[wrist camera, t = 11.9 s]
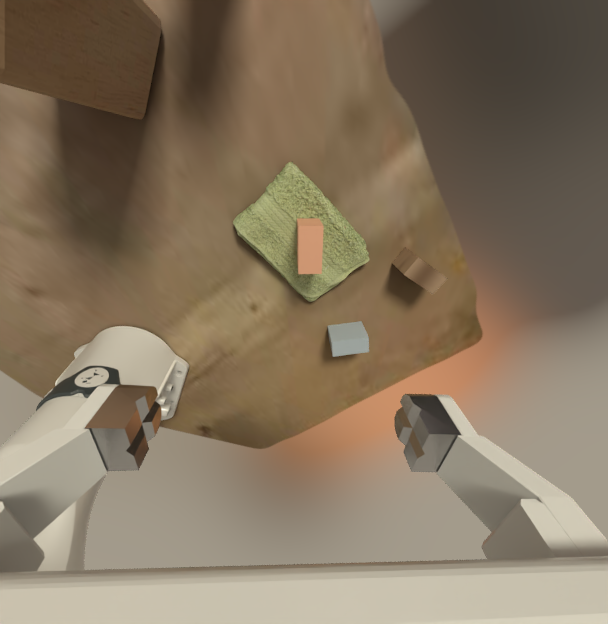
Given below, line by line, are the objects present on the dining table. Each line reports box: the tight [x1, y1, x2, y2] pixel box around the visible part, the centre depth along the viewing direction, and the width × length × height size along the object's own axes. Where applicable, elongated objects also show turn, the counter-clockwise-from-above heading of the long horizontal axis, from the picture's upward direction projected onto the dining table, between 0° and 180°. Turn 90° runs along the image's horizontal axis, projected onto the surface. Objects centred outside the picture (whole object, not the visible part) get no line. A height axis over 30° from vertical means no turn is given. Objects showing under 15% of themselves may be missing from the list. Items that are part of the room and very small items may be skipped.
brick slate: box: [328, 321, 369, 357], centre depth 47 cm, size 6×3×5 cm, turn 97°
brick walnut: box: [392, 248, 448, 294], centre depth 41 cm, size 6×3×5 cm, turn 57°
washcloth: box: [233, 162, 369, 302], centre depth 40 cm, size 13×18×3 cm
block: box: [0, 0, 161, 119], centre depth 21 cm, size 10×10×20 cm
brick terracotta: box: [297, 218, 324, 274], centre depth 36 cm, size 6×3×5 cm, turn 0°
